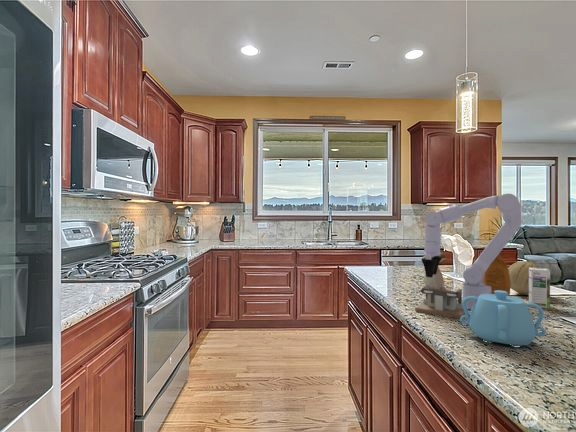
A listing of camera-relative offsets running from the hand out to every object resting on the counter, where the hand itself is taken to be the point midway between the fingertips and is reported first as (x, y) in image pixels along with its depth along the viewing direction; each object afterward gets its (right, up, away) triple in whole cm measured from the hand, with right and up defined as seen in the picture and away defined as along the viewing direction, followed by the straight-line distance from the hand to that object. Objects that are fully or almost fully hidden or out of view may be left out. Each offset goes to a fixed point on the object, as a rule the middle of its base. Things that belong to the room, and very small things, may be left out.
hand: (431, 275), depth 131 cm
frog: (+10, -11, +17) cm, 23 cm away
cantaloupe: (+47, -11, +13) cm, 50 cm away
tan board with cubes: (-2, -11, -12) cm, 16 cm away
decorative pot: (+2, -11, -39) cm, 41 cm away
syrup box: (+39, -11, -5) cm, 41 cm away
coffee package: (+27, -11, +2) cm, 29 cm away
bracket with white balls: (-2, -8, -13) cm, 15 cm away
